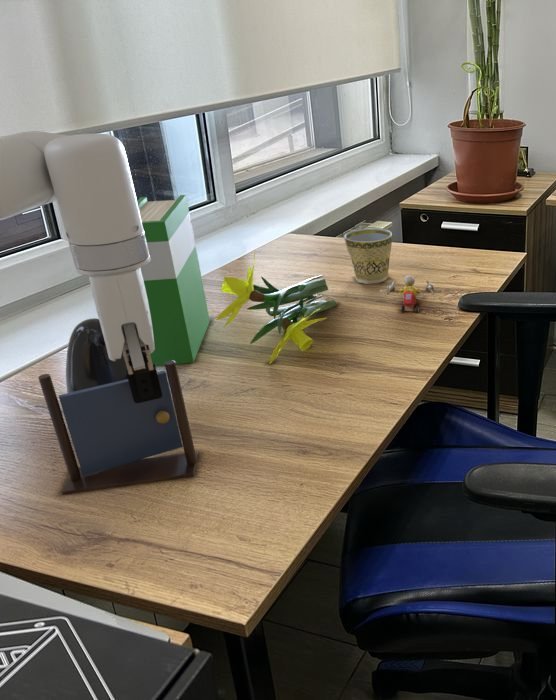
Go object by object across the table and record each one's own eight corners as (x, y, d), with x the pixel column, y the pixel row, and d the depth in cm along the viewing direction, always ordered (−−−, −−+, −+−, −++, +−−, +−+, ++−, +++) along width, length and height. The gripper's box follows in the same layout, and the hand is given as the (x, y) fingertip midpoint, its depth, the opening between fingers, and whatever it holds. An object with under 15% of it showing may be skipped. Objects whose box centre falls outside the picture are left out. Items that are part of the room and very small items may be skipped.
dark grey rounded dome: (100, 445, 95) (71, 342, 88) (63, 421, 101) (33, 323, 94) (169, 413, 102) (146, 316, 95) (130, 393, 108) (107, 300, 101)
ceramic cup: (376, 291, 145) (373, 244, 141) (338, 283, 150) (334, 237, 146) (411, 272, 156) (409, 228, 151) (375, 265, 160) (372, 222, 156)
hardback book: (168, 325, 131) (140, 197, 121) (210, 322, 132) (186, 194, 122) (146, 368, 115) (112, 224, 105) (194, 364, 116) (164, 221, 106)
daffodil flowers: (375, 311, 138) (318, 340, 104) (314, 348, 141) (239, 389, 106) (329, 236, 136) (255, 241, 102) (268, 275, 139) (177, 293, 105)
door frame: (63, 497, 85) (27, 387, 78) (74, 473, 89) (41, 367, 83) (196, 478, 88) (172, 371, 81) (200, 456, 92) (178, 353, 86)
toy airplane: (408, 318, 132) (406, 286, 129) (378, 306, 138) (376, 274, 135) (444, 305, 138) (443, 274, 135) (414, 293, 144) (413, 263, 141)
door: (84, 482, 85) (59, 403, 81) (82, 472, 87) (58, 395, 82) (185, 453, 91) (168, 377, 86) (181, 444, 93) (164, 370, 88)
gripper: (73, 240, 82) (112, 380, 90) (72, 278, 70) (117, 435, 78) (142, 231, 85) (174, 366, 93) (153, 265, 73) (188, 418, 81)
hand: (148, 397), depth 85 cm, fingers closed
